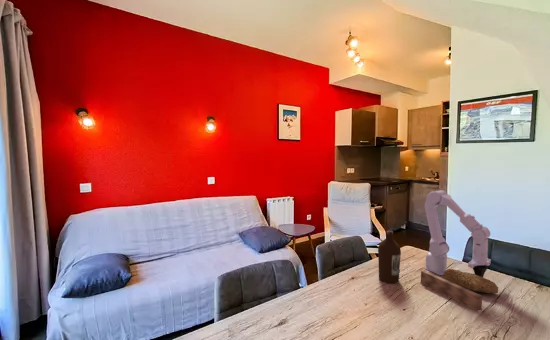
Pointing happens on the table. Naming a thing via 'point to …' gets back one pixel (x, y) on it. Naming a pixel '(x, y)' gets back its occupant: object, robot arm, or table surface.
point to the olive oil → (389, 259)
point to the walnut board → (452, 290)
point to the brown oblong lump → (470, 281)
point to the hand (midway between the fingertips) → (478, 279)
